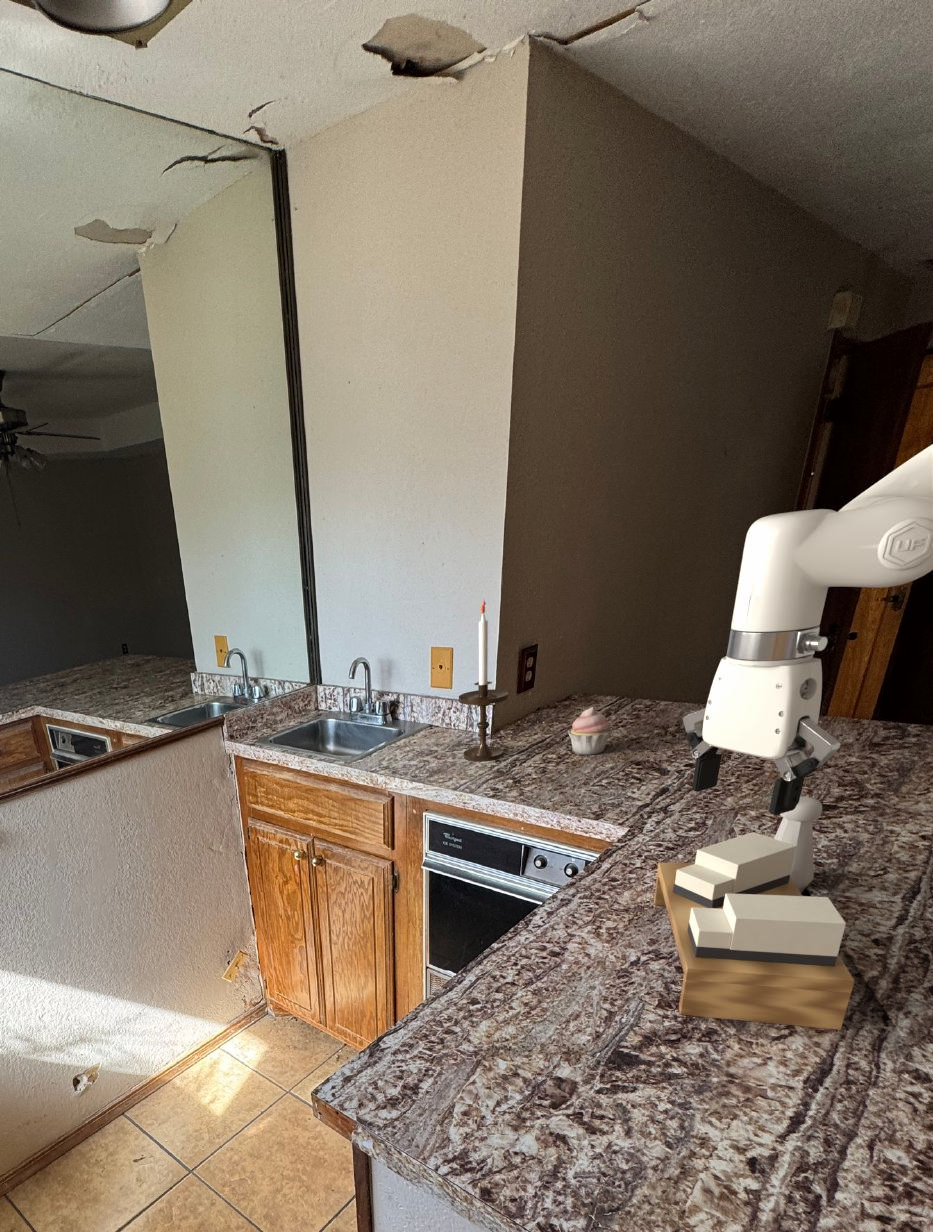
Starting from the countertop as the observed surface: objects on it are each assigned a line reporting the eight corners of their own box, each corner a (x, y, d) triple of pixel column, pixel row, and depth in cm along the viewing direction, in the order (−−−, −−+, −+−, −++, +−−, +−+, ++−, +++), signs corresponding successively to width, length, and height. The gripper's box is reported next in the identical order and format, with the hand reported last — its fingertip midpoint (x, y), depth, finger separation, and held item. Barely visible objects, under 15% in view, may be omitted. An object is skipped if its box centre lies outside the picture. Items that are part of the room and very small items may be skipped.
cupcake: (608, 757, 150) (611, 712, 146) (562, 756, 155) (565, 712, 151) (614, 745, 157) (618, 701, 153) (570, 744, 162) (573, 702, 158)
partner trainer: (817, 938, 73) (828, 896, 71) (834, 966, 68) (846, 923, 66) (687, 931, 77) (693, 892, 75) (695, 957, 73) (701, 916, 71)
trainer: (746, 867, 88) (753, 831, 86) (788, 883, 83) (796, 845, 81) (672, 892, 85) (677, 855, 83) (711, 910, 80) (718, 871, 78)
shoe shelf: (774, 906, 90) (783, 865, 87) (840, 1030, 69) (855, 980, 66) (653, 901, 95) (658, 862, 93) (680, 1014, 74) (687, 968, 71)
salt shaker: (754, 878, 97) (772, 791, 91) (805, 881, 94) (826, 791, 89) (760, 897, 92) (778, 806, 87) (813, 901, 90) (835, 808, 84)
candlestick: (510, 760, 158) (513, 597, 143) (461, 764, 160) (459, 604, 145) (503, 747, 168) (505, 593, 152) (457, 751, 170) (455, 600, 155)
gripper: (888, 645, 65) (843, 814, 73) (723, 634, 80) (700, 774, 88) (830, 659, 63) (790, 830, 71) (672, 644, 78) (653, 787, 86)
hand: (740, 799), depth 79 cm, fingers open, 9 cm apart
